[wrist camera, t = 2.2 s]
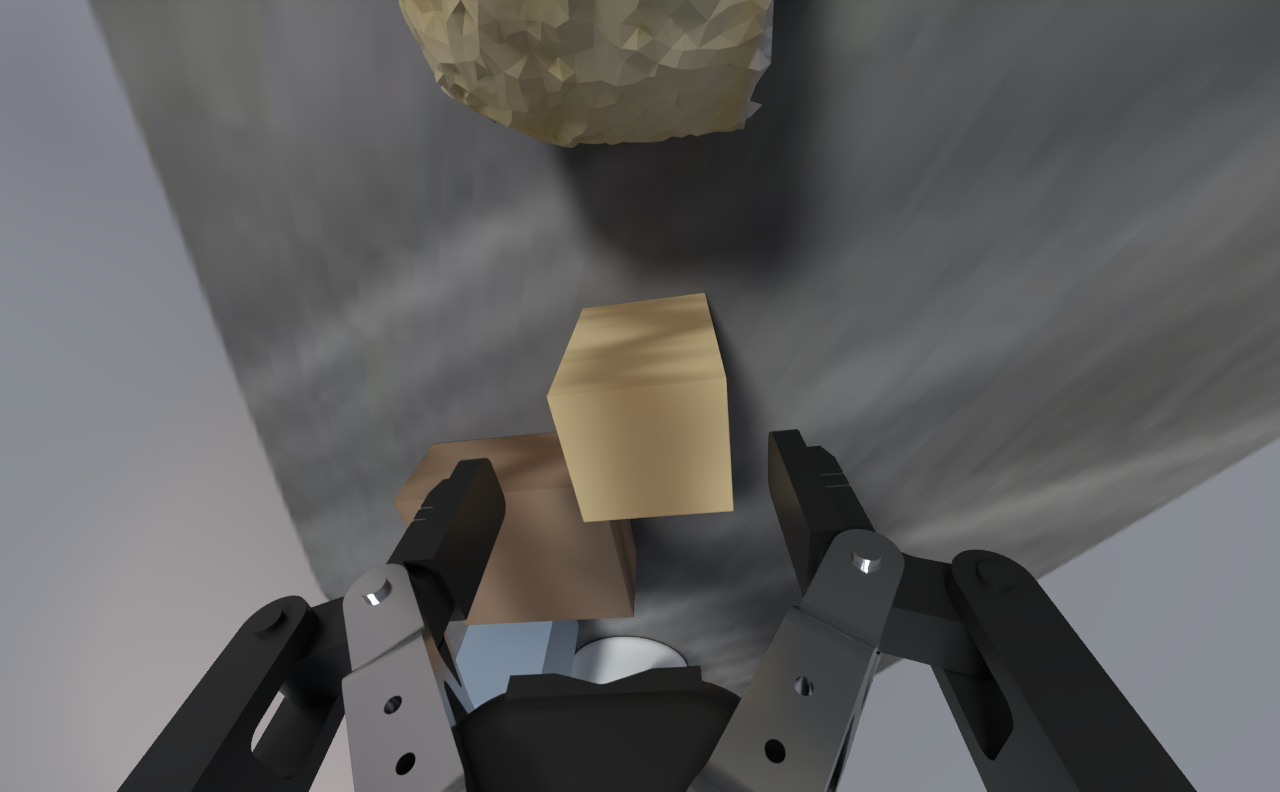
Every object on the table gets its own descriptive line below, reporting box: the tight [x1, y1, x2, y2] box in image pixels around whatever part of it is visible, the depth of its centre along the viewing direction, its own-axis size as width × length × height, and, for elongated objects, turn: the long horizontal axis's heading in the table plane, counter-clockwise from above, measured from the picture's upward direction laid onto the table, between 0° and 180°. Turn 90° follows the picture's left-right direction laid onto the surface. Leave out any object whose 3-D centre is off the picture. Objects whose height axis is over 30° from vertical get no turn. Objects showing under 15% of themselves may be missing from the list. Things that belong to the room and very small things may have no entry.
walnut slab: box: [393, 432, 637, 626], centre depth 23 cm, size 9×9×4 cm
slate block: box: [456, 620, 579, 709], centre depth 26 cm, size 5×5×7 cm
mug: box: [571, 637, 687, 684], centre depth 27 cm, size 12×8×12 cm
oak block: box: [547, 293, 733, 522], centre depth 17 cm, size 5×5×7 cm
